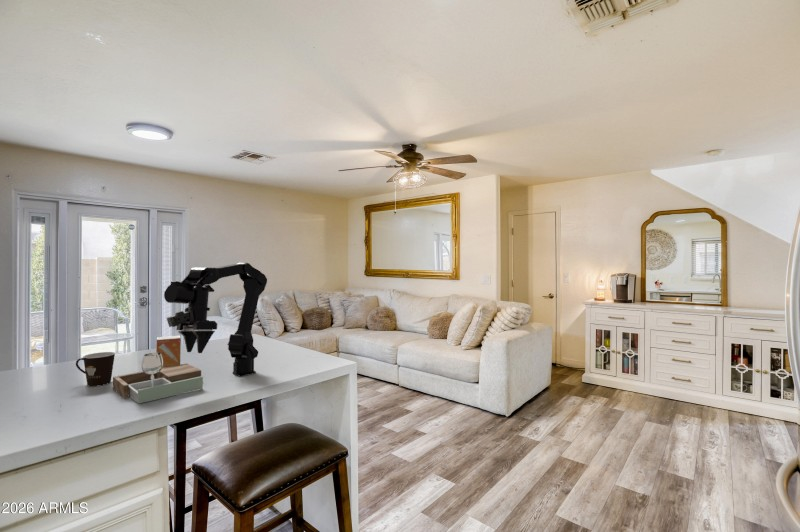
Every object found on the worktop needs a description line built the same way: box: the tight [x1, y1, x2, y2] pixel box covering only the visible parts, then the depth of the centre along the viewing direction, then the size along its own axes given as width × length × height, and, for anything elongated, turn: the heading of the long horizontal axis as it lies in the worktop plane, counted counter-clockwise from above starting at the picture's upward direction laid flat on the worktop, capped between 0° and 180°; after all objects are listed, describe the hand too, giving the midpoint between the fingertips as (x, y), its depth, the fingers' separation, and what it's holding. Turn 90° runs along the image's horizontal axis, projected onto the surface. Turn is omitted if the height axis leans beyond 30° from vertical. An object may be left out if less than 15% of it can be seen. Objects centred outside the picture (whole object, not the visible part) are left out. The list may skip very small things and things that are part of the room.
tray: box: [129, 375, 204, 404], centre depth 122 cm, size 13×18×4 cm
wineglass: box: [141, 352, 163, 387], centre depth 119 cm, size 6×6×12 cm
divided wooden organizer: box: [112, 363, 202, 399], centre depth 128 cm, size 13×23×4 cm, turn 140°
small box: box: [155, 334, 182, 368], centre depth 146 cm, size 8×6×13 cm
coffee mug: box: [75, 351, 116, 387], centre depth 130 cm, size 12×9×10 cm
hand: (194, 352), depth 120 cm, fingers open, 9 cm apart
